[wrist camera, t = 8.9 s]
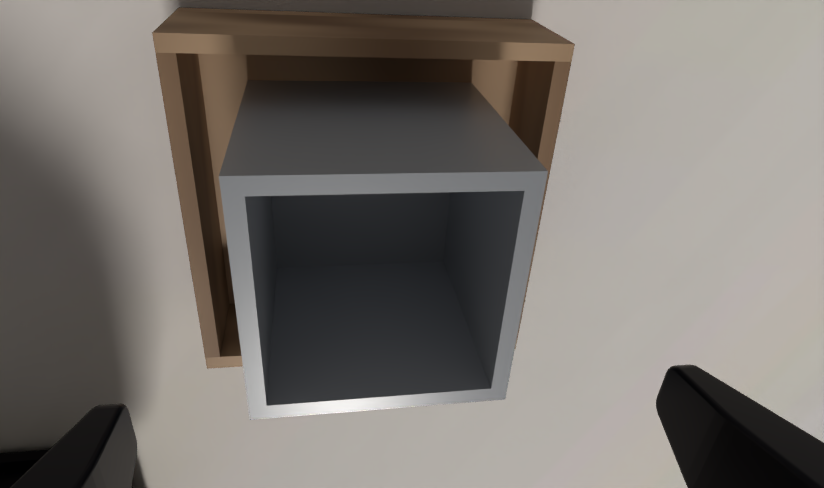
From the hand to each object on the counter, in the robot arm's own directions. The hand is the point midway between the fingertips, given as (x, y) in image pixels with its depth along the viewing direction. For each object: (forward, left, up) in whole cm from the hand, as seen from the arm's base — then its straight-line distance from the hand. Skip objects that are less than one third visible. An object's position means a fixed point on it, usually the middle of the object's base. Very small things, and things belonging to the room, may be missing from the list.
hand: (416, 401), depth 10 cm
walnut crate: (0, 0, -9) cm, 9 cm away
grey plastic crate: (0, 0, -9) cm, 9 cm away
